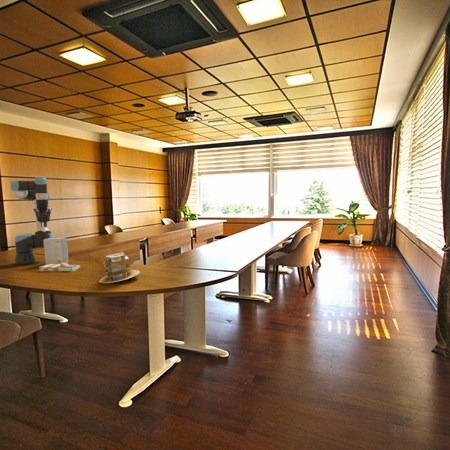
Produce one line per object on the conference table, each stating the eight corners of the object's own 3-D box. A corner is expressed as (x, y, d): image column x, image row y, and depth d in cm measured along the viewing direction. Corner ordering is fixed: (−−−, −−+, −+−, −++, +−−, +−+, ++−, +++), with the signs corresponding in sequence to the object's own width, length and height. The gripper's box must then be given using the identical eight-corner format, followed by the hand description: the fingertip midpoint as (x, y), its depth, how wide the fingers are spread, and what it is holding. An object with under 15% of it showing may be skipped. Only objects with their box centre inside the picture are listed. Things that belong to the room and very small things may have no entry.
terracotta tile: (59, 266, 220) (60, 263, 220) (63, 265, 225) (64, 262, 224) (65, 269, 220) (66, 266, 219) (69, 267, 224) (70, 264, 224)
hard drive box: (69, 262, 246) (67, 237, 244) (63, 264, 239) (61, 239, 237) (51, 262, 248) (49, 237, 246) (44, 264, 240) (42, 239, 238)
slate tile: (71, 266, 219) (72, 269, 219) (75, 265, 223) (75, 268, 224) (66, 266, 219) (66, 269, 220) (70, 265, 224) (70, 268, 224)
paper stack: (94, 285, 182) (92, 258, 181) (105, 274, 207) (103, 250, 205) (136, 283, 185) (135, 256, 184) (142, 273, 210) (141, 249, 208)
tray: (57, 271, 218) (57, 268, 217) (66, 268, 227) (66, 264, 227) (72, 271, 216) (72, 268, 216) (80, 268, 226) (80, 265, 226)
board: (39, 271, 219) (38, 267, 219) (48, 267, 229) (48, 263, 229) (57, 271, 218) (57, 267, 217) (66, 268, 227) (65, 264, 227)
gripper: (29, 199, 219) (32, 231, 222) (46, 199, 218) (49, 232, 221) (37, 198, 227) (39, 230, 230) (53, 198, 226) (55, 230, 228)
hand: (44, 231), depth 225 cm, fingers closed
